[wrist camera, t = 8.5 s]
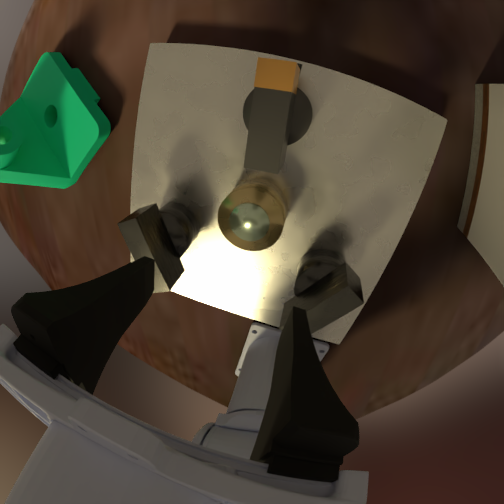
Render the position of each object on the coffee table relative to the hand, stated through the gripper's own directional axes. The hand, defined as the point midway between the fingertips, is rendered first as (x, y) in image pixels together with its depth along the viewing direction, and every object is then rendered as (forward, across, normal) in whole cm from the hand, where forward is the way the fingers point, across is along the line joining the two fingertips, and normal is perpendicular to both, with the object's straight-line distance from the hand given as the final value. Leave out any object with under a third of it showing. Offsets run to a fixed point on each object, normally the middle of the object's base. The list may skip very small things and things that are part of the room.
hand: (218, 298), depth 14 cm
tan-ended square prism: (+7, 0, -8) cm, 11 cm away
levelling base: (+9, 0, -2) cm, 10 cm away
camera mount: (+10, +20, -6) cm, 23 cm away
